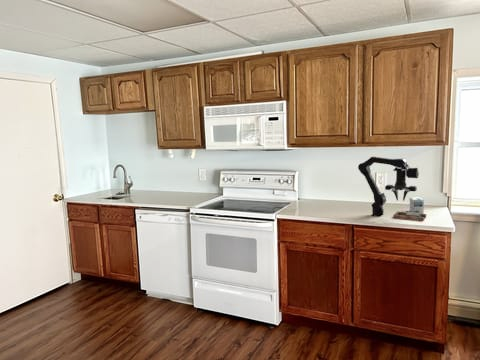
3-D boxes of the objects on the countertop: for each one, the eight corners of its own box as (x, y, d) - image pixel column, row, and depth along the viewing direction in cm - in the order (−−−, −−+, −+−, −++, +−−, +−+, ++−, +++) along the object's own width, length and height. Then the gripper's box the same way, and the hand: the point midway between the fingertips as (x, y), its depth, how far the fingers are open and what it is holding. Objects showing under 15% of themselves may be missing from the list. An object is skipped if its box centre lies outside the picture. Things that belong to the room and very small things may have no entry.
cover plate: (406, 218, 239) (406, 214, 238) (408, 215, 245) (408, 211, 245) (419, 219, 234) (419, 215, 234) (421, 217, 241) (421, 212, 240)
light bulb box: (423, 215, 250) (424, 199, 249) (413, 215, 251) (413, 199, 250) (419, 211, 261) (419, 196, 259) (409, 211, 262) (409, 196, 260)
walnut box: (393, 219, 241) (393, 215, 241) (397, 215, 251) (397, 211, 251) (423, 222, 231) (423, 217, 231) (426, 218, 241) (426, 214, 240)
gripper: (383, 178, 240) (383, 201, 242) (414, 179, 229) (413, 204, 231) (387, 176, 249) (386, 198, 251) (417, 177, 238) (416, 200, 240)
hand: (400, 200), depth 243 cm, fingers open, 4 cm apart
